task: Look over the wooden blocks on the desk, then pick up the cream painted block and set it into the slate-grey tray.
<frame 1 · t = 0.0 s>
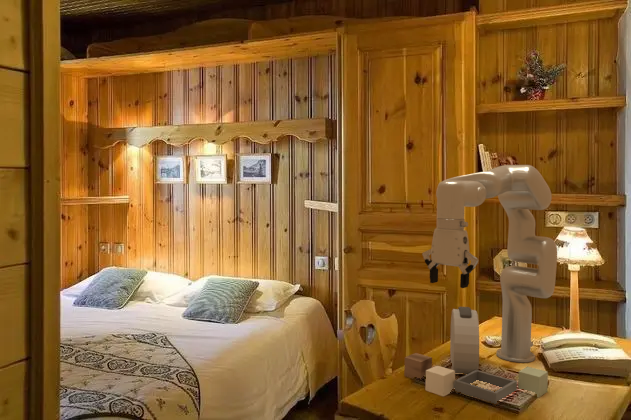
hand: (448, 284, 150), 31 cm above the table, tool pointing down, fingers open, 9 cm apart
walnut block: (418, 376, 165), on the table
cream block: (440, 390, 154), on the table
sage block: (532, 391, 153), on the table
grey tray: (485, 392, 152), on the table
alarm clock: (463, 368, 173), on the table
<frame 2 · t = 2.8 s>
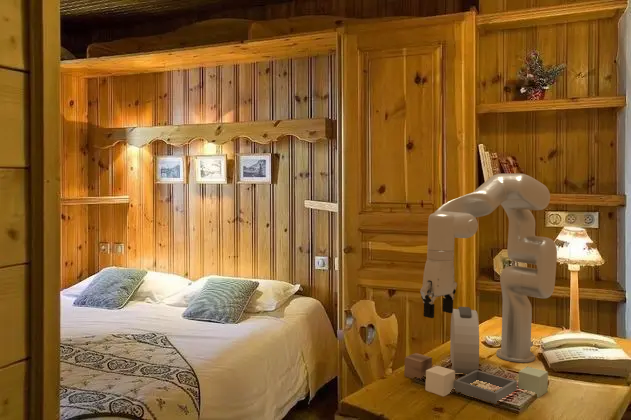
hand: (438, 314, 153), 22 cm above the table, tool pointing down, fingers open, 9 cm apart
nothing on the table moved.
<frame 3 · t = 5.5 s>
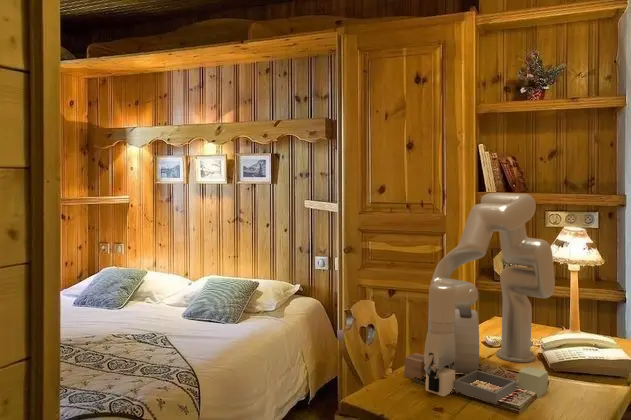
hand: (440, 387, 153), 1 cm above the table, tool pointing down, fingers closed on cream block, 6 cm apart
cream block: (440, 390, 154), on the table, touching gripper
everything else where it was.
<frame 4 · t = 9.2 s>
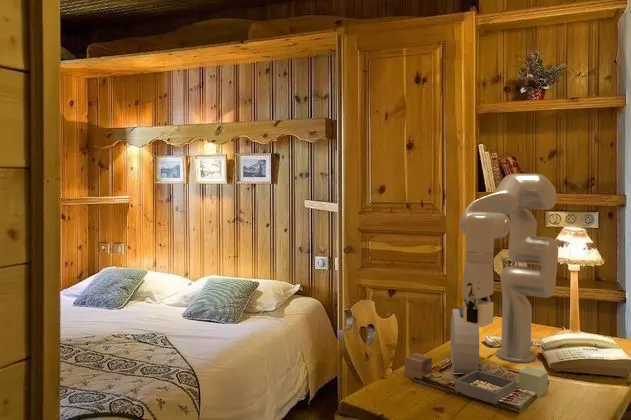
hand: (478, 319, 151), 21 cm above the table, tool pointing down, fingers closed on cream block, 6 cm apart
cream block: (478, 323, 151), point 20 cm above the table, touching gripper
everything else where it was.
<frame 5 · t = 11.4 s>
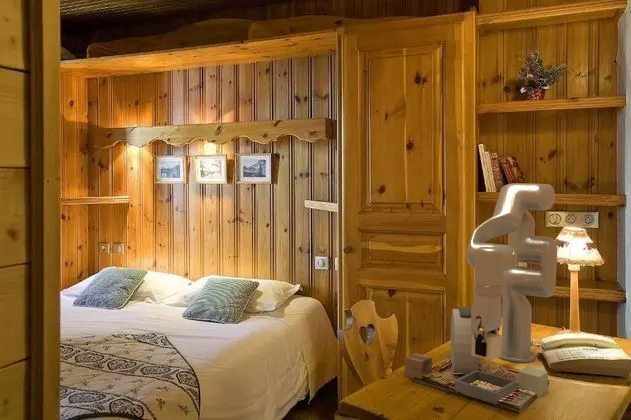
hand: (486, 352, 151), 12 cm above the table, tool pointing down, fingers closed on cream block, 6 cm apart
cream block: (486, 355, 151), point 11 cm above the table, touching gripper
everything else where it was.
when the fingers open (3 cm above the table, at t = 13.4 s): cream block drops 2 cm, resting on grey tray.
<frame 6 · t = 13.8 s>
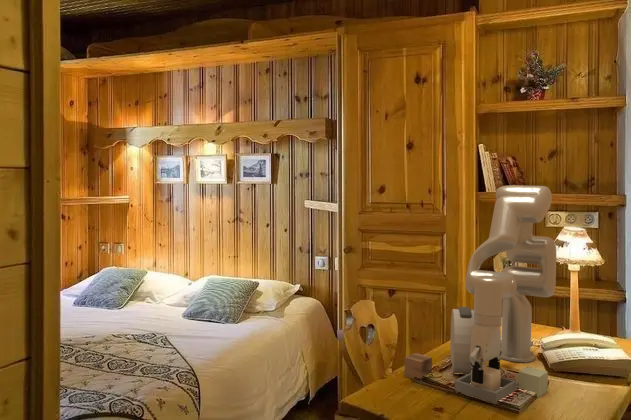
hand: (485, 378, 152), 4 cm above the table, tool pointing down, fingers open, 9 cm apart
cream block: (485, 390, 152), point 1 cm above the table, touching grey tray
everything else where it was.
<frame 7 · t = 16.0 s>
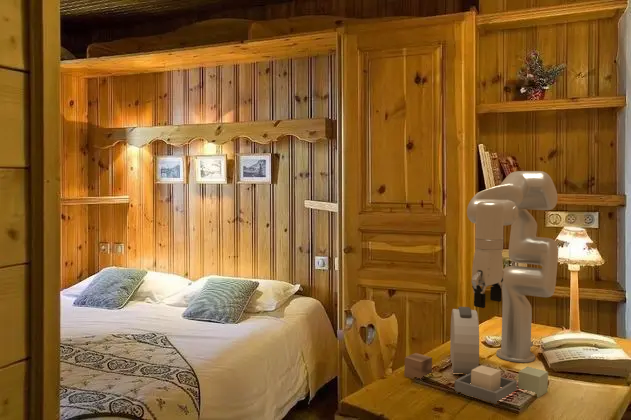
hand: (487, 303, 152), 26 cm above the table, tool pointing down, fingers open, 9 cm apart
nothing on the table moved.
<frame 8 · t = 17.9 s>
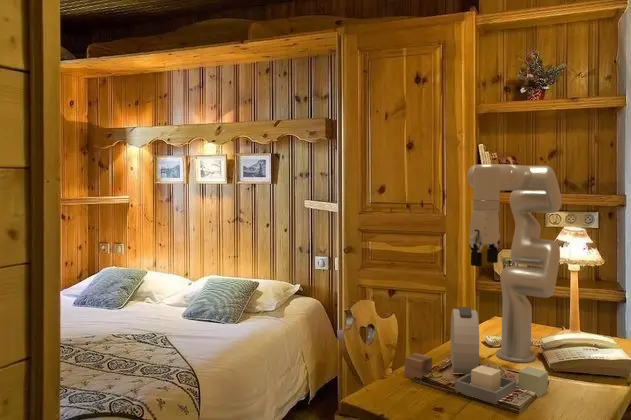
hand: (484, 264, 156), 36 cm above the table, tool pointing down, fingers open, 9 cm apart
nothing on the table moved.
at the end: cream block 0.0 cm off-centre on the grey tray, point 0.6 cm above the grey tray's base; cream block tilted 0°; the gripper is holding nothing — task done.
